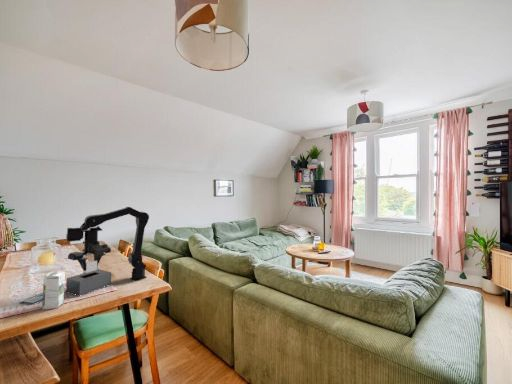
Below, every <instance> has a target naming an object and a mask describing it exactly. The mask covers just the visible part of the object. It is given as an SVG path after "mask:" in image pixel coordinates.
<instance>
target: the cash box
mask: <svg viewBox="0 0 512 384" xmlns="http://www.w3.org/2000/svg"><path fill="white" fill-rule="evenodd" d="M65 280H66V281H65V282H66V283H65V284H66V287H65V292H66V293H68V292H69V293H68V294H71V293H73V294H72V295H74V294H76V295H75V296H77V295H79V296H78V297H81V296H80V295H82V296H84V295H83V294H85V295H87V294H89V292H90V293H92V292H91V291H93V292H95V291H94V290H96V291H98V290H97V289H99V288H101V289H103V288H102V287H104V286H107V285H110V284H111V285H112V272H110V271H108V270H103V269H97V270H95V271H91V272H88V273H83V272H82V273H80V274H77V275H73V276H69V277H66V279H65ZM111 285H110V286H111ZM107 287H108V286H107ZM104 288H105V287H104ZM99 290H100V289H99ZM86 293H87V294H86Z"/></svg>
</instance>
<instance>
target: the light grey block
mask: <svg viewBox="0 0 512 384" xmlns="http://www.w3.org/2000/svg"><path fill="white" fill-rule="evenodd" d="M95 270H97V260H94V259H92V260H88V261H86V270H85V271H84V270H83V269H82V271H83V272H85V273H88V272H91V271H95ZM83 272H82V273H83Z"/></svg>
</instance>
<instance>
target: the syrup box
mask: <svg viewBox="0 0 512 384" xmlns="http://www.w3.org/2000/svg"><path fill="white" fill-rule="evenodd" d="M65 280H66V271H53V272H49V273H48V274H46V275H44V277H43V283H42V285H43V287H42V293H43V301H41V302H42V303H41V310H45V311H46V310H55V309H58V308H59V307H60V306H62V305H63V304H64V299H65V284H66V283H65V282H66V281H65Z"/></svg>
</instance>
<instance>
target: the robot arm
mask: <svg viewBox="0 0 512 384" xmlns="http://www.w3.org/2000/svg"><path fill="white" fill-rule="evenodd" d="M127 215H130V216H132V217H134V218H135V225H136V229H135V236H134V242H133V246H132V247H133V248H132V251H131V252H129V253H128V258H127V261H128V263H129V264H130V265H131V266H132V271H131V277H130V278H129V279H130V280H134V281H141V280H143V279H146V278H147V276H146V275H145V274H146V273H145V272H146V268H147V264H145V263H144V262H143V255H142V247H143V241H144V235H145V228H146V226H147V225H148V222H149V219H150V215H149V214H148V212H144V211H139V210H136V209H134V208H133V207H131V206H126V207H124V208H121V209H117V210H113V211H110V212H106V213H101V214H93V215H91V214H90V215H88V216H86V217H84V218H85V219H84V222H83V223H82V224H81V225H80V226H79V227H68V228H67V230H66V235H65V237H66V240H65V241H66V242H67V243H69V242H78V241H80V242H81V240H83V239H84V241H82V244H84V245H83V246H84V248H83V249H82V251H81V252H80V251H73V252H70V253H68V255H67V259H68V260H72V261H77V262H78V263H79V265H80V267H81V269H82V271H83V270H84V271H85V270H86V262H87V259H88V258H87V257H86V256H90V255H93V260H97V266H98V264H99V263H100V260H101V259H102V257H103V256H106V254H109V253H111V252H112V249H111V247H110V246H109V245H108V244H107V243H106V244H105V243H104V244H101V245H100V241H99V240H98V238H99V237H98V235H99V231H100V232H101V231H103V228H101V227H100V225H101V224H102V225H103V223H105V222H107V221H111V220H113V219H114V220H115V219H118V218H120V217H123V216H127Z"/></svg>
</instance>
